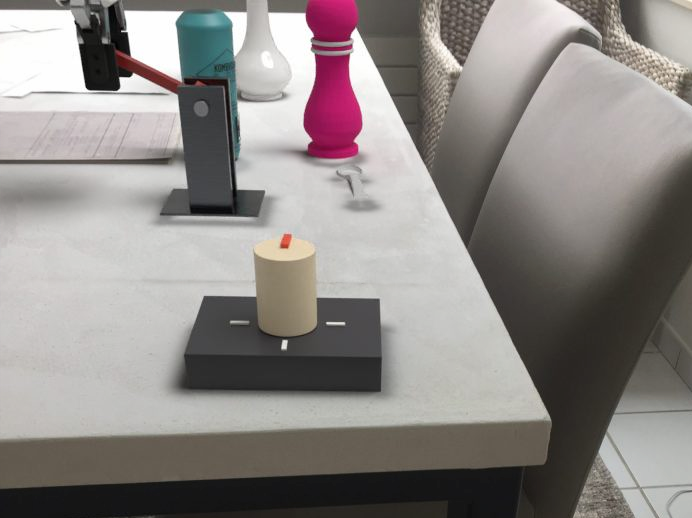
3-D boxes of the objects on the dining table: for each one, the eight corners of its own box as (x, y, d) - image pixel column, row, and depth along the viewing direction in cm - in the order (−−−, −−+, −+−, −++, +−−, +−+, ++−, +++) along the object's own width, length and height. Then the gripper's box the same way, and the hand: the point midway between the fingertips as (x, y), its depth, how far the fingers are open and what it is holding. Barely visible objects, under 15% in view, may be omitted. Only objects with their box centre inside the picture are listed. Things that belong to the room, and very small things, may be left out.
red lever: (88, 66, 84) (95, 40, 82) (101, 55, 88) (107, 30, 86) (211, 126, 87) (219, 102, 86) (217, 113, 91) (226, 90, 90)
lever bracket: (161, 224, 91) (143, 89, 84) (174, 199, 98) (159, 71, 90) (259, 226, 92) (251, 92, 84) (265, 201, 98) (258, 73, 90)
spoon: (359, 174, 106) (360, 157, 105) (376, 216, 97) (376, 198, 96) (335, 175, 105) (335, 158, 104) (349, 217, 97) (349, 199, 95)
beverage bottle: (178, 171, 106) (156, -25, 94) (204, 156, 111) (187, -31, 99) (228, 178, 104) (212, -20, 92) (252, 162, 109) (241, -27, 97)
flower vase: (324, 109, 131) (321, -97, 116) (198, 105, 131) (179, -102, 116) (329, 88, 141) (327, -103, 126) (213, 85, 141) (197, -107, 126)
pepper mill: (361, 169, 108) (363, -22, 96) (302, 167, 108) (296, -24, 96) (362, 152, 114) (364, -30, 102) (306, 150, 114) (301, -32, 102)
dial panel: (188, 391, 65) (183, 352, 63) (207, 330, 73) (203, 293, 71) (380, 393, 65) (382, 354, 63) (378, 332, 73) (379, 296, 71)
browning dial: (314, 338, 65) (312, 257, 62) (254, 335, 65) (248, 255, 62) (319, 312, 69) (317, 234, 65) (262, 310, 69) (257, 232, 65)
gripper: (58, -152, 83) (92, 64, 94) (-1, -148, 69) (47, 103, 80) (140, -149, 83) (164, 65, 94) (96, -145, 69) (131, 105, 80)
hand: (110, 81), depth 87 cm, fingers closed on red lever, 5 cm apart
